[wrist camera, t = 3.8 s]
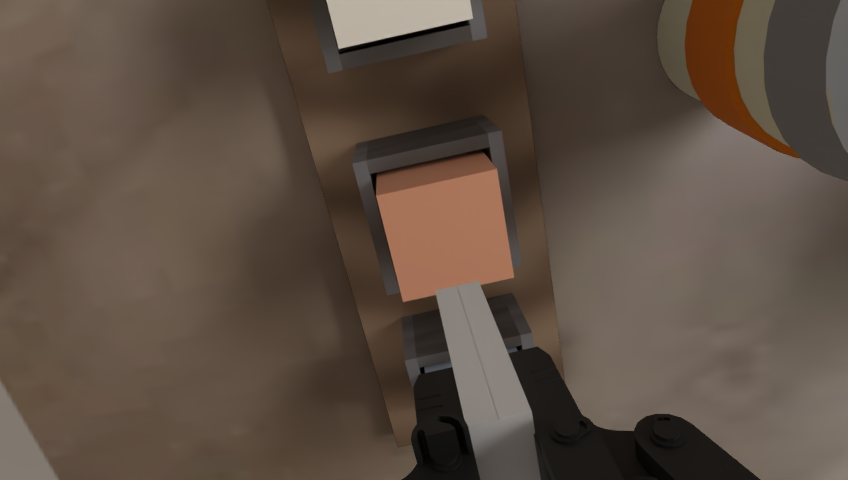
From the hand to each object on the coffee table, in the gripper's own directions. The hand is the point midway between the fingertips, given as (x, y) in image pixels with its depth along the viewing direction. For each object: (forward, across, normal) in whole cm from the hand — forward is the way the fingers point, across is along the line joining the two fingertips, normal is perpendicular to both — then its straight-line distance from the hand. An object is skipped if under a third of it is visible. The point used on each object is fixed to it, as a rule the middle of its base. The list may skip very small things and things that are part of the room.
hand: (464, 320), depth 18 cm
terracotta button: (+13, 0, 0) cm, 13 cm away
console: (+17, 0, 0) cm, 17 cm away
